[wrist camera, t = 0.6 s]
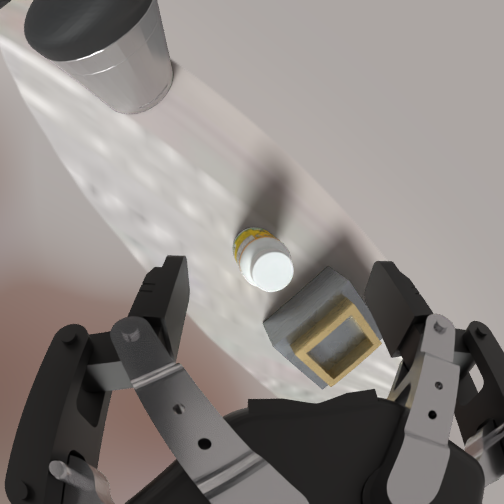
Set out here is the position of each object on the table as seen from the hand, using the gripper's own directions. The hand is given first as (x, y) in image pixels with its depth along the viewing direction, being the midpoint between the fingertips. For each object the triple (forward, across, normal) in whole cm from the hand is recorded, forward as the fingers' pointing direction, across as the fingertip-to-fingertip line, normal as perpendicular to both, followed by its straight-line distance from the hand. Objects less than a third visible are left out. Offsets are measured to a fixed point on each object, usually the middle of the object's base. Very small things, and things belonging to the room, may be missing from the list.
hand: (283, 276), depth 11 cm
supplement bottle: (+21, 0, +11) cm, 24 cm away
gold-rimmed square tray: (+19, -10, +22) cm, 31 cm away
